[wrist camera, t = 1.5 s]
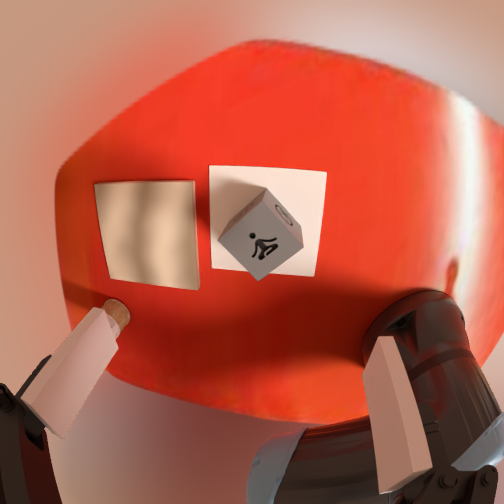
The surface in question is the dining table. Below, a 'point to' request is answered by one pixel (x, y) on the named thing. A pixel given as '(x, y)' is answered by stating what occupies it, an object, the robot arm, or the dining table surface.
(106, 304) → the sprinkles bottle
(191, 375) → the dining table surface
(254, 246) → the dice cube
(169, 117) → the dining table surface
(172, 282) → the birch coaster
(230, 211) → the white tile
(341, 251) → the dining table surface
